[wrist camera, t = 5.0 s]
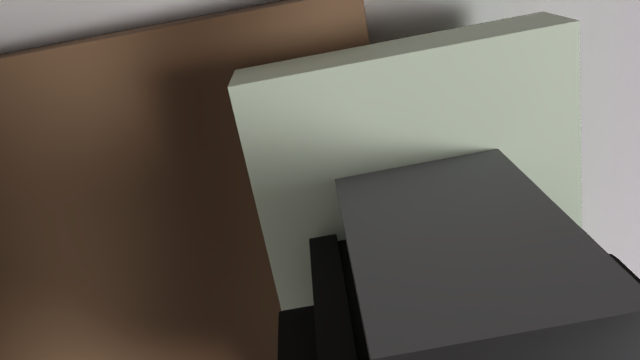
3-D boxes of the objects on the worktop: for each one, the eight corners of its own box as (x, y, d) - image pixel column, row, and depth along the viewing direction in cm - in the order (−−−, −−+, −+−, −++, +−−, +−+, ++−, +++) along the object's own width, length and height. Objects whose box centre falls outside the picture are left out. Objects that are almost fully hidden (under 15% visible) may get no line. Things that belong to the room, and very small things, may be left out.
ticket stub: (543, 11, 11) (843, 87, 5) (555, 381, 15) (746, 689, 8) (234, 69, 11) (175, 211, 5) (317, 423, 15) (338, 757, 9)
